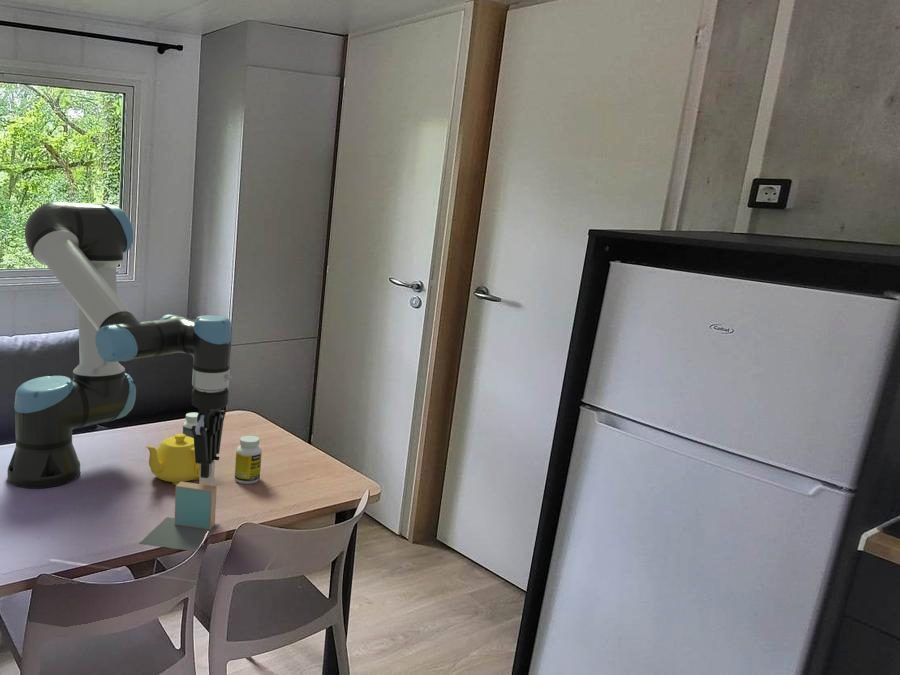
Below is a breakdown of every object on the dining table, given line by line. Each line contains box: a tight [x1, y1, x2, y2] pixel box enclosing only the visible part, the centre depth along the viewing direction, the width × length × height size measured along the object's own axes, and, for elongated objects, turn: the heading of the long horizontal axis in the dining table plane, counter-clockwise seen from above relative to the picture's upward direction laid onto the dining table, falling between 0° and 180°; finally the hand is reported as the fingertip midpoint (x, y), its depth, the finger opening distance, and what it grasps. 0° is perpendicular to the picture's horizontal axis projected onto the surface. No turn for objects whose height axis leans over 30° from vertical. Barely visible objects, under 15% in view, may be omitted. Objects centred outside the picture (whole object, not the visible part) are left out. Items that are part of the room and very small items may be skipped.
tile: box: [174, 481, 218, 530], centre depth 154 cm, size 8×2×9 cm, turn 86°
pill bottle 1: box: [182, 412, 198, 438], centre depth 198 cm, size 5×5×9 cm
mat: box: [139, 516, 220, 553], centre depth 151 cm, size 12×12×1 cm
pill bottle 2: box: [234, 435, 263, 485], centre depth 180 cm, size 6×6×11 cm
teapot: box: [145, 433, 200, 486], centre depth 175 cm, size 20×15×12 cm
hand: (206, 488), depth 159 cm, fingers closed
